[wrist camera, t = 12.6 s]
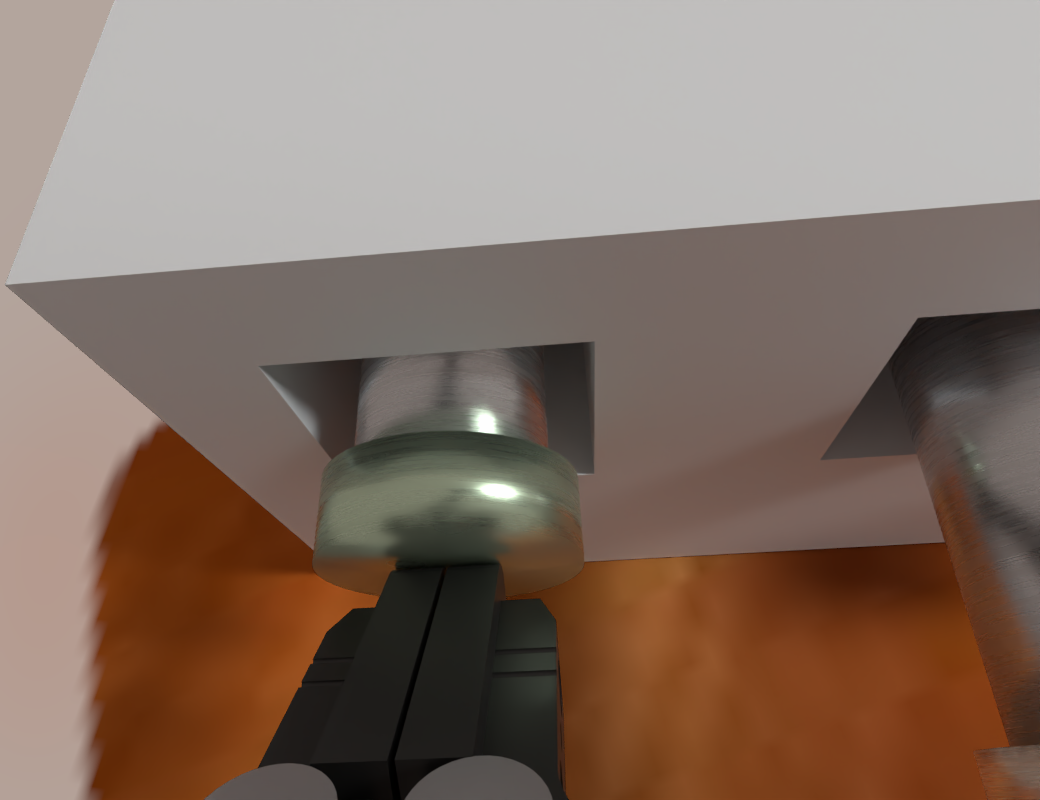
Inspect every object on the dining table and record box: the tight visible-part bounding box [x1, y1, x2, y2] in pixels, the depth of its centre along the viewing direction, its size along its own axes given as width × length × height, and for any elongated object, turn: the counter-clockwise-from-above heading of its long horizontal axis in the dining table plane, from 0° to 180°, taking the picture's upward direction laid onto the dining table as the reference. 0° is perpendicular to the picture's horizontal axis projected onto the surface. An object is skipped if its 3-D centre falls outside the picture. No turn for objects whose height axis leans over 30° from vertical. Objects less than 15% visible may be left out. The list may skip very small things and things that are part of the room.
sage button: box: [312, 345, 584, 597], centre depth 12 cm, size 9×4×4 cm, turn 2°
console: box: [5, 0, 1040, 562], centre depth 15 cm, size 12×24×12 cm, turn 92°
